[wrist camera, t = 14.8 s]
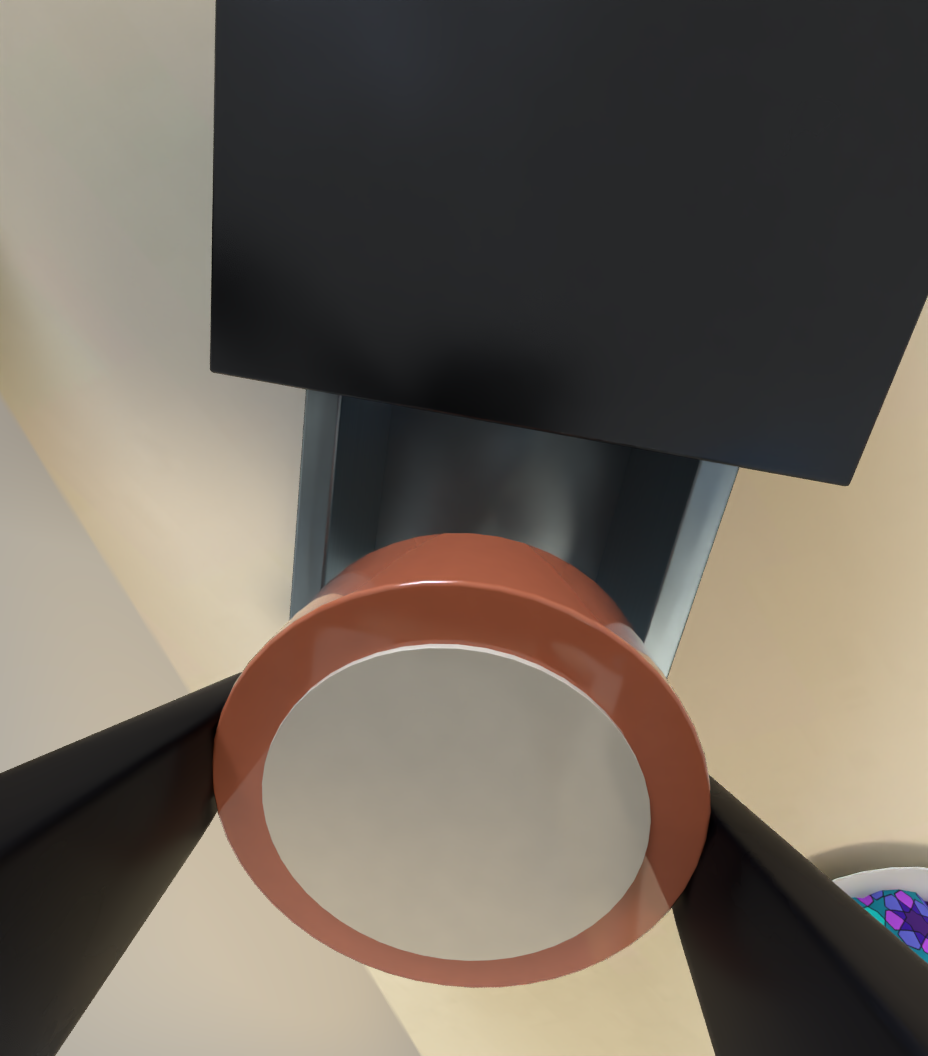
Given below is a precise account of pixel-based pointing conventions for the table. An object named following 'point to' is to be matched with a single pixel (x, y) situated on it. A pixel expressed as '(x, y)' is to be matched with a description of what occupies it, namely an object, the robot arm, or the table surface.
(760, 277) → the cabinet
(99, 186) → the table surface
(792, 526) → the table surface
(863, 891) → the pudding
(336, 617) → the round tin
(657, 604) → the drawer
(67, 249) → the table surface
